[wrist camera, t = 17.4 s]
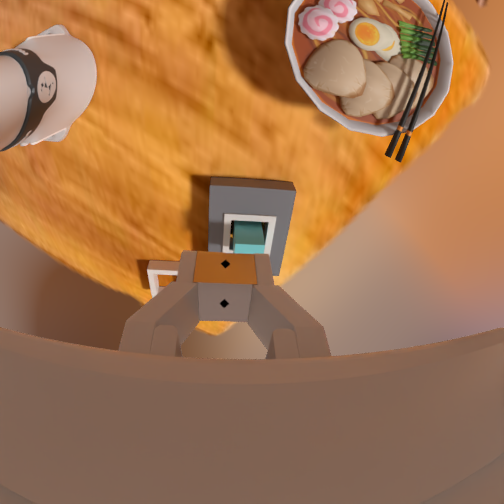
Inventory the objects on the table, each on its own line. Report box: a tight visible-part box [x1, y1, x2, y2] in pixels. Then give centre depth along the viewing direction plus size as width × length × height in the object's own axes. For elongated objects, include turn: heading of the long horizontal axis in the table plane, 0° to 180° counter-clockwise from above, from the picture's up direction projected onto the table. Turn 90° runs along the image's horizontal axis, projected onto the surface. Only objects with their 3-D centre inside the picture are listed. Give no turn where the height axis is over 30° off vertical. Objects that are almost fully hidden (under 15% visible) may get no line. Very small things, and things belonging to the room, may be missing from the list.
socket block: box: [208, 177, 296, 276], centre depth 45 cm, size 12×16×3 cm
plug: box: [233, 220, 265, 254], centre depth 43 cm, size 4×4×8 cm
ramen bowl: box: [284, 0, 453, 162], centre depth 26 cm, size 25×23×8 cm
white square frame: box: [147, 260, 180, 298], centre depth 51 cm, size 8×8×2 cm
